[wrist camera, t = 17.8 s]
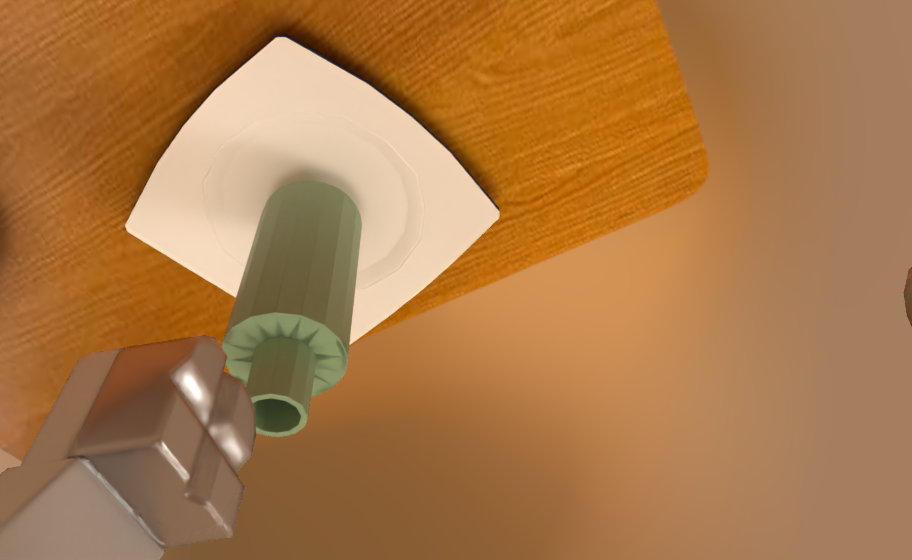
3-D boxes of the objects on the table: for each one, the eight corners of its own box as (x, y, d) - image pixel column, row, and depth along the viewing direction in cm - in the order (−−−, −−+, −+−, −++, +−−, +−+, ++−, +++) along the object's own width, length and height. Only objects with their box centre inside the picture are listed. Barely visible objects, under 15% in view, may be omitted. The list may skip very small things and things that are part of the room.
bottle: (345, 171, 45) (316, 360, 32) (372, 250, 50) (357, 445, 37) (248, 190, 46) (181, 383, 33) (283, 266, 50) (236, 464, 37)
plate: (116, 207, 50) (103, 229, 48) (283, -7, 41) (276, 9, 39) (342, 342, 59) (339, 365, 57) (517, 192, 50) (522, 213, 48)
